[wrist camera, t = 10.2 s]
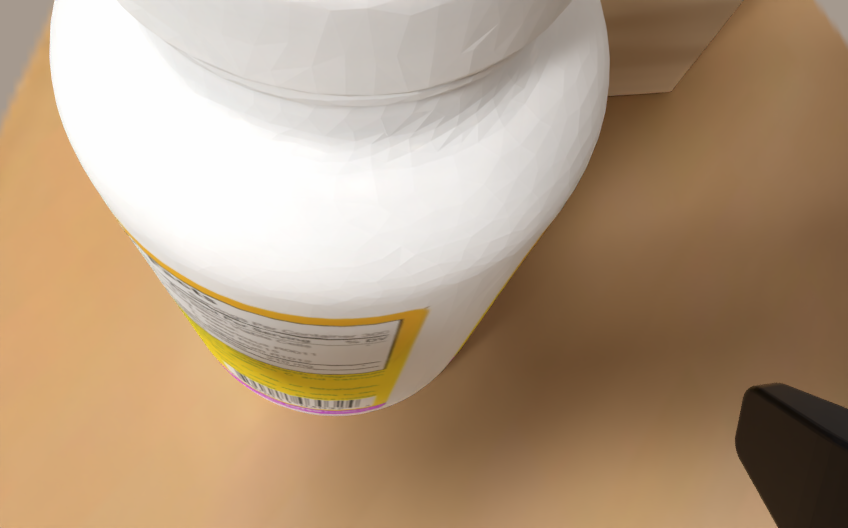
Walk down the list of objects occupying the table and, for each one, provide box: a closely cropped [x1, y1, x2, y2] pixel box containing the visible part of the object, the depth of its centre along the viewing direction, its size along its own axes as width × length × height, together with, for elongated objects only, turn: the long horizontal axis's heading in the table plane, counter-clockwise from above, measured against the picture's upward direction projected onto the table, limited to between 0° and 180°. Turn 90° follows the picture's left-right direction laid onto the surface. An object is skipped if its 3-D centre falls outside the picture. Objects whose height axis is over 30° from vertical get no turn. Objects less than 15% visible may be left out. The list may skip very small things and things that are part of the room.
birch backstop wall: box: [600, 0, 743, 96], centre depth 17 cm, size 2×13×6 cm, turn 99°
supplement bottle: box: [50, 0, 610, 416], centre depth 11 cm, size 7×7×13 cm
